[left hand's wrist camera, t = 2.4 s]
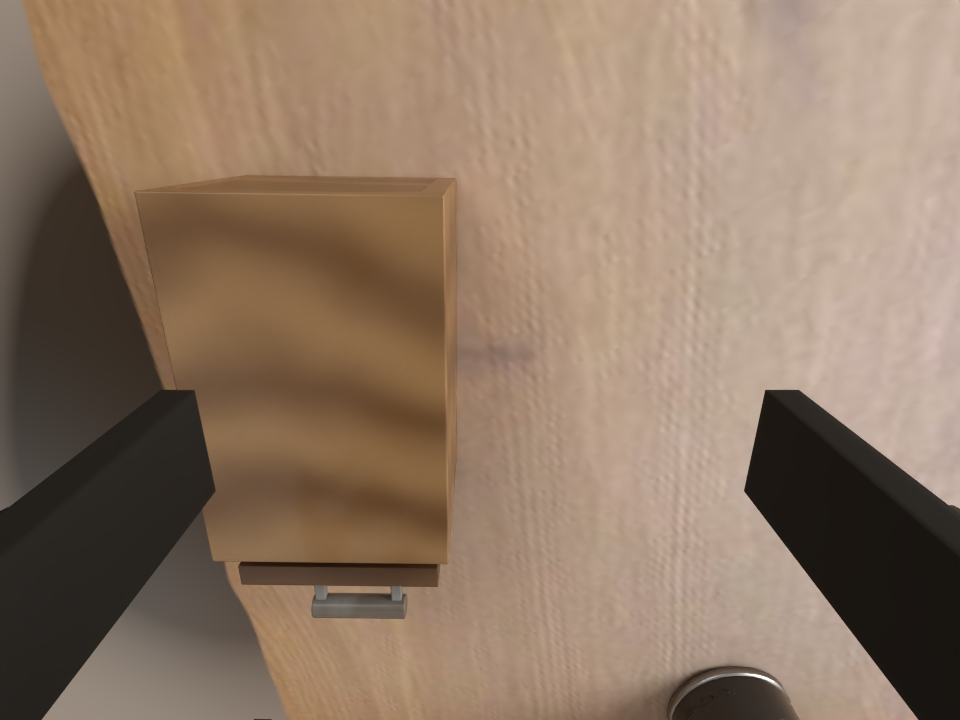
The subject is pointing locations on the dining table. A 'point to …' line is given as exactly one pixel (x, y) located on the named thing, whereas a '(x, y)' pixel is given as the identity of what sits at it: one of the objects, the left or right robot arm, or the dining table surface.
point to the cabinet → (316, 359)
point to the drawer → (346, 576)
